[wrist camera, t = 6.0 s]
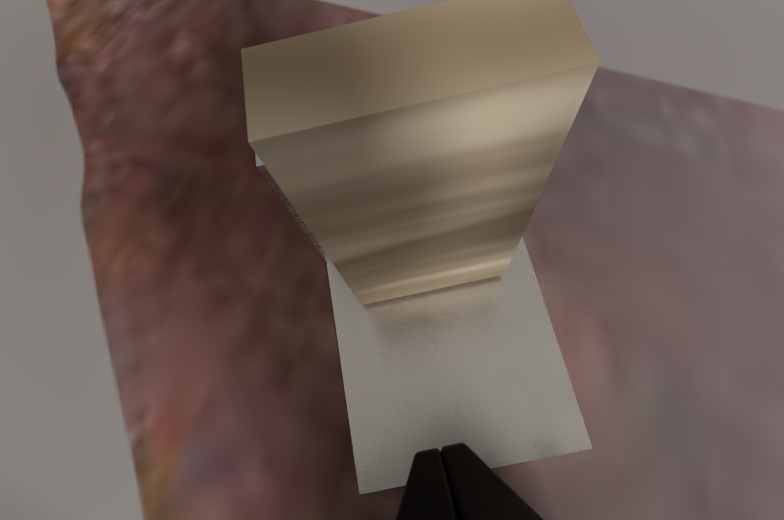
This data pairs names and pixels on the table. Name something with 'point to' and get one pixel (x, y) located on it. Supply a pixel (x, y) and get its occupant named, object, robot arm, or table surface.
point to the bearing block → (451, 372)
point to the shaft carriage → (419, 134)
